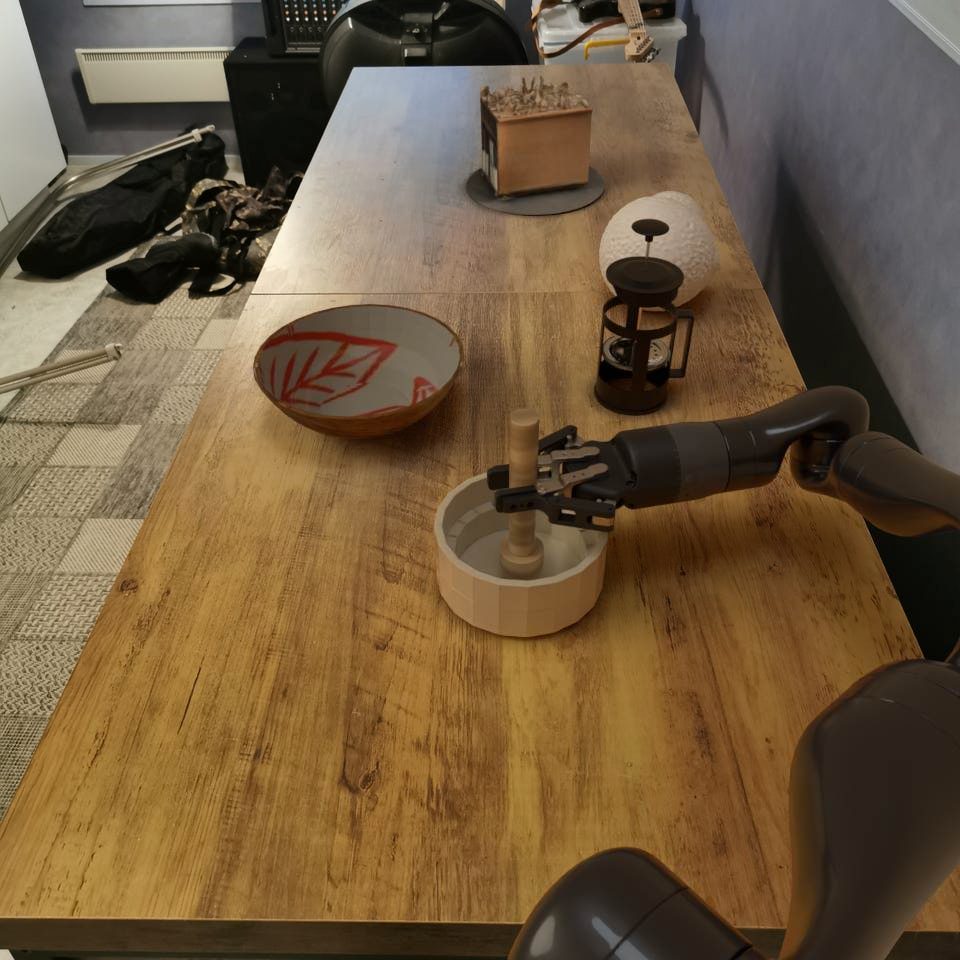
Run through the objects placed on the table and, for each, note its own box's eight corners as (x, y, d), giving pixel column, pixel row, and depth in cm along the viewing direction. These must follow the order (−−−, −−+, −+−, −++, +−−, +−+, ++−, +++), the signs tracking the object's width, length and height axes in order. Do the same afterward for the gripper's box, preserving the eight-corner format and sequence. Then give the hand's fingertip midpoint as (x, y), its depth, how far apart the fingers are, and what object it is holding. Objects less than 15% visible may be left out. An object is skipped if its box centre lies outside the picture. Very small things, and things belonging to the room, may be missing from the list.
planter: (545, 229, 154) (549, 114, 142) (437, 189, 167) (433, 81, 155) (631, 183, 168) (642, 75, 156) (525, 149, 181) (528, 47, 169)
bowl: (245, 379, 121) (234, 326, 116) (426, 340, 128) (423, 288, 123) (289, 497, 103) (278, 440, 98) (496, 443, 110) (496, 388, 105)
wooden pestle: (548, 574, 91) (555, 428, 79) (504, 581, 90) (505, 435, 79) (537, 543, 94) (542, 399, 83) (495, 550, 94) (494, 405, 82)
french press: (591, 415, 114) (606, 243, 99) (585, 372, 122) (599, 206, 107) (686, 415, 114) (715, 243, 99) (675, 373, 121) (701, 206, 106)
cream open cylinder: (624, 624, 89) (631, 570, 84) (454, 654, 86) (452, 599, 81) (575, 511, 101) (579, 457, 96) (425, 533, 99) (421, 480, 94)
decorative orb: (570, 321, 132) (576, 215, 121) (594, 264, 144) (602, 164, 134) (712, 341, 127) (731, 233, 117) (724, 281, 140) (743, 179, 130)
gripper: (691, 542, 85) (508, 572, 83) (640, 450, 96) (476, 474, 93) (702, 480, 80) (508, 510, 78) (647, 390, 91) (475, 414, 88)
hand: (492, 490), depth 85 cm, fingers closed on wooden pestle, 2 cm apart
